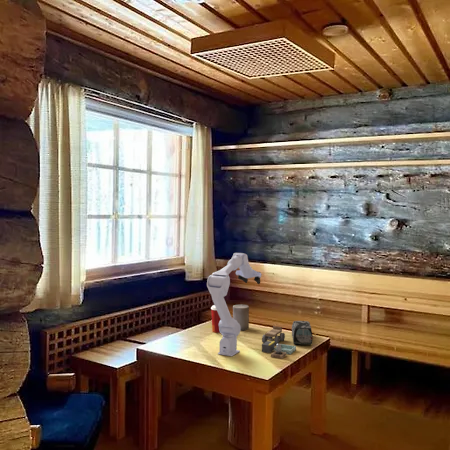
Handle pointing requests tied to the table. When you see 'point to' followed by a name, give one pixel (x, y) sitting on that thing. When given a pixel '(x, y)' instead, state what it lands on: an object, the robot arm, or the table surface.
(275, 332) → the trolley
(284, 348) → the tray
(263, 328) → the table surface
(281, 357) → the pin holder
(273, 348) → the chock
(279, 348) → the pin
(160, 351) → the table surface
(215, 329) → the coffee cup
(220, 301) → the robot arm
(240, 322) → the pillar candle
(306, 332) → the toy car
